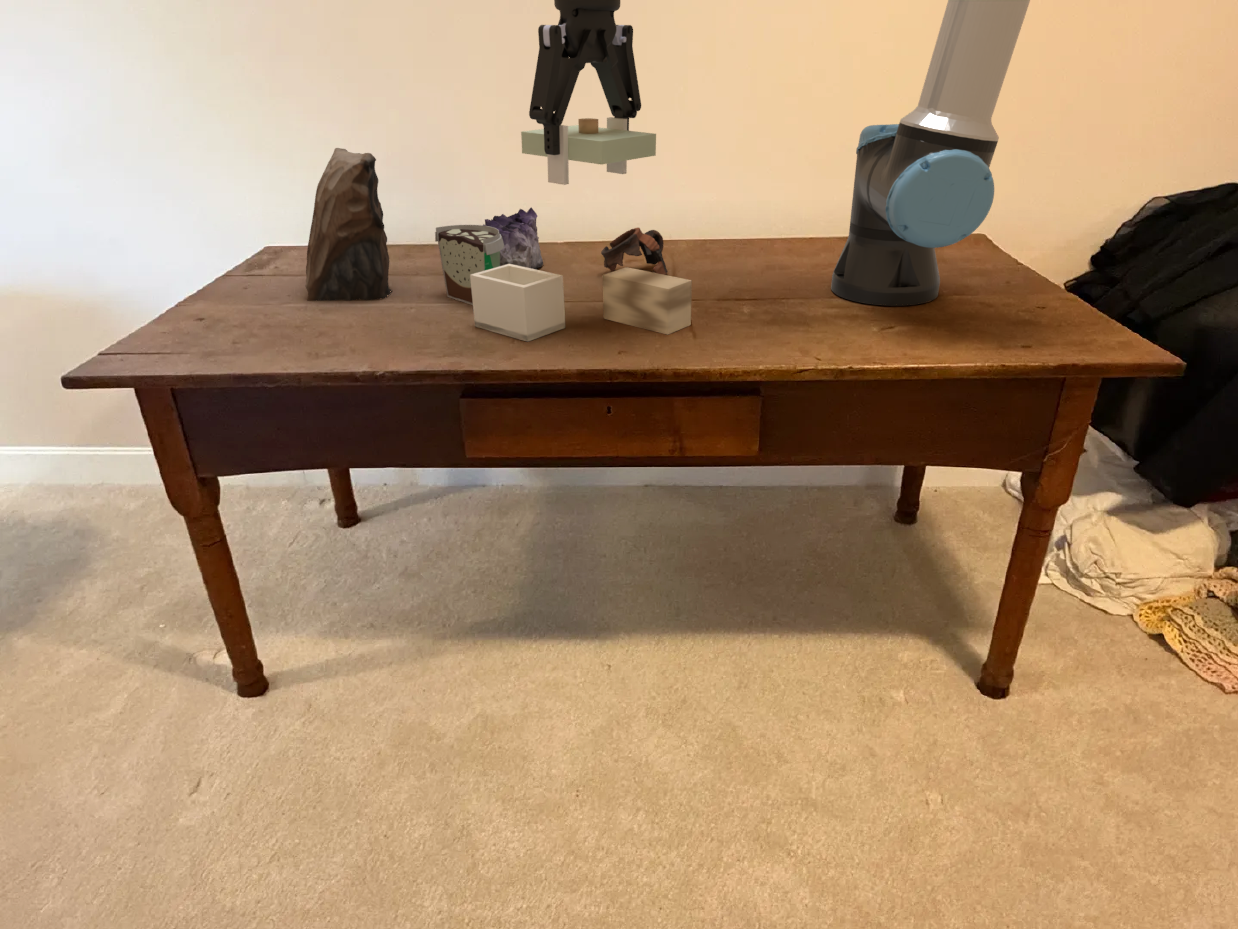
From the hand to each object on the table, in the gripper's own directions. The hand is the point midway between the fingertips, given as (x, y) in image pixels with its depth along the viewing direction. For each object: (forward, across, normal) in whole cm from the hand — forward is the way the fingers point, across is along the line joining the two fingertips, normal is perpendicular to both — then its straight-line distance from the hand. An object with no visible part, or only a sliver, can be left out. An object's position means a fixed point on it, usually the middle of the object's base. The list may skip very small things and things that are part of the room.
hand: (588, 177), depth 107 cm
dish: (+19, +7, -6) cm, 21 cm away
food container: (+19, +1, -20) cm, 28 cm away
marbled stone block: (+19, -5, +6) cm, 20 cm away
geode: (+20, -13, -29) cm, 37 cm away
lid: (-3, 0, 0) cm, 3 cm away
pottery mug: (+19, -24, -11) cm, 32 cm away
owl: (+20, +11, -39) cm, 45 cm away
